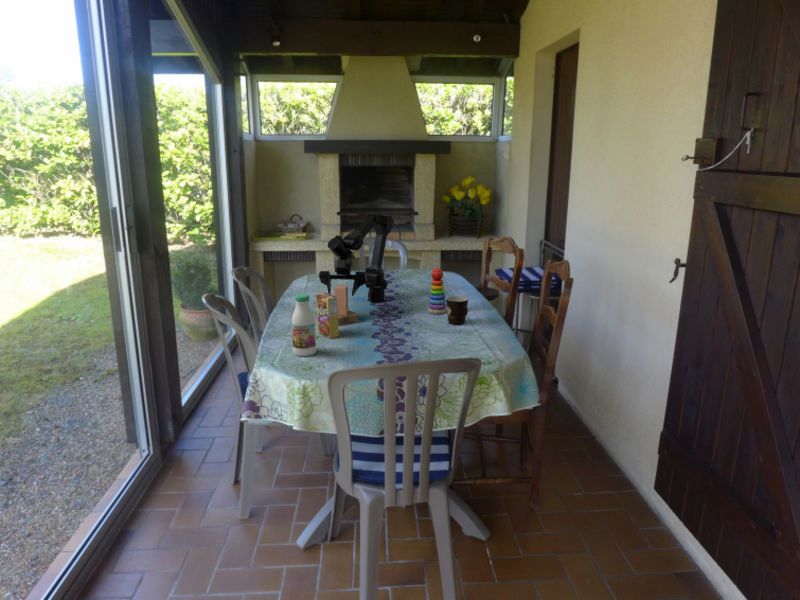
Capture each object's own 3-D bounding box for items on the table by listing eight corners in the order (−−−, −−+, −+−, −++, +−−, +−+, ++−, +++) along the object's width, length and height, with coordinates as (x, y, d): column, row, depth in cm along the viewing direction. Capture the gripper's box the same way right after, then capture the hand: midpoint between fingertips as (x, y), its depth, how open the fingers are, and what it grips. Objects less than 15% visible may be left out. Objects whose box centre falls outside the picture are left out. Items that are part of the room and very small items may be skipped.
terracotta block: (337, 312, 224) (336, 285, 221) (348, 312, 224) (347, 285, 221) (335, 315, 220) (334, 288, 217) (346, 315, 220) (345, 288, 217)
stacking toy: (448, 310, 237) (449, 267, 232) (444, 315, 230) (444, 271, 225) (431, 308, 240) (431, 266, 235) (425, 313, 232) (426, 269, 227)
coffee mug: (445, 319, 224) (445, 295, 221) (466, 320, 223) (467, 295, 221) (446, 328, 212) (447, 303, 210) (469, 328, 212) (469, 303, 210)
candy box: (317, 333, 208) (315, 293, 204) (327, 330, 210) (325, 291, 206) (329, 339, 201) (327, 298, 197) (339, 336, 203) (338, 296, 200)
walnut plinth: (347, 316, 229) (347, 309, 229) (359, 321, 221) (358, 314, 221) (325, 319, 224) (325, 312, 223) (336, 326, 216) (336, 318, 215)
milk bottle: (294, 349, 191) (291, 292, 185) (317, 348, 191) (314, 292, 186) (292, 357, 183) (288, 298, 178) (315, 356, 184) (313, 298, 179)
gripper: (318, 251, 220) (313, 284, 213) (365, 251, 219) (361, 285, 211) (323, 266, 230) (319, 299, 222) (368, 267, 229) (365, 299, 221)
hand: (340, 295), depth 219 cm, fingers open, 9 cm apart
